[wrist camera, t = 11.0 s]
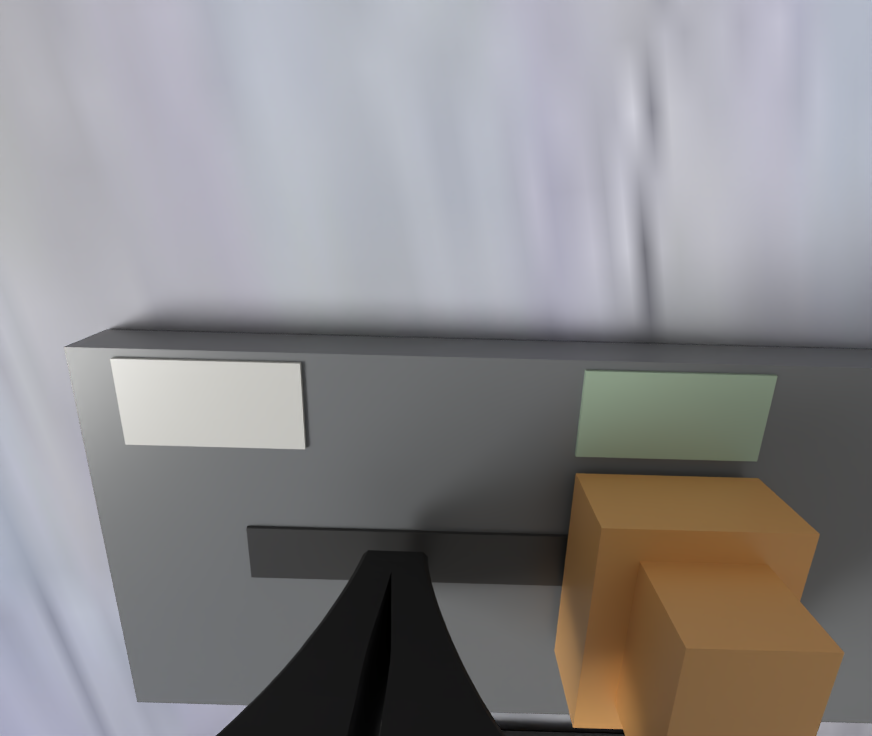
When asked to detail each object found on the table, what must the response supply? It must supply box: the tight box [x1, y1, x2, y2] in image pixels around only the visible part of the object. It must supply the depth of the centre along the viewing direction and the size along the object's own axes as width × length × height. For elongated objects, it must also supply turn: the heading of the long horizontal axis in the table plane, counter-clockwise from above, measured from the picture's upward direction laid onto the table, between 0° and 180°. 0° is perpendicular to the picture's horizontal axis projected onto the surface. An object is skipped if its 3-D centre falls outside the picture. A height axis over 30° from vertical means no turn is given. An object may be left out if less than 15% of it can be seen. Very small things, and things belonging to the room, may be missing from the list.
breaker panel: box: [64, 329, 872, 723], centre depth 13 cm, size 20×10×2 cm, turn 89°
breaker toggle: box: [554, 473, 844, 736], centre depth 11 cm, size 4×5×4 cm
